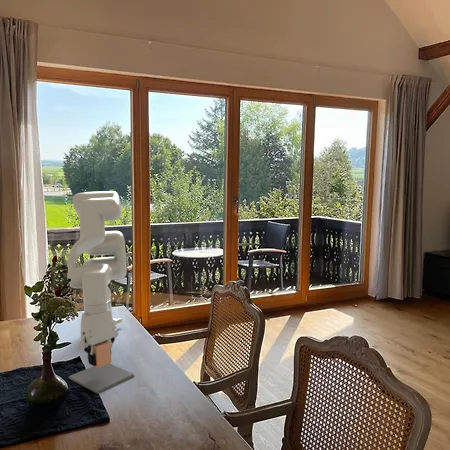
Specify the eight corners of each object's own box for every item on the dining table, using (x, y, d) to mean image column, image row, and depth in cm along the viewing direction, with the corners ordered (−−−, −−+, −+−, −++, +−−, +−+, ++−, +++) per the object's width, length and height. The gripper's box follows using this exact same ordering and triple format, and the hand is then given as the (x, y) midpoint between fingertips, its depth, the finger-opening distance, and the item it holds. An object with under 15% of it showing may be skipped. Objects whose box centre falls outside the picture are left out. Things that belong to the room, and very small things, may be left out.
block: (102, 358, 150) (101, 338, 149) (111, 362, 147) (110, 342, 146) (89, 364, 147) (87, 343, 146) (98, 368, 143) (96, 347, 142)
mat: (105, 363, 158) (105, 361, 158) (133, 376, 148) (133, 373, 148) (68, 378, 148) (68, 376, 148) (97, 393, 137) (97, 391, 137)
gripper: (111, 299, 153) (115, 350, 156) (65, 312, 140) (70, 368, 143) (125, 302, 148) (128, 355, 151) (79, 317, 136) (83, 374, 138)
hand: (100, 361), depth 147 cm, fingers closed on block, 5 cm apart
